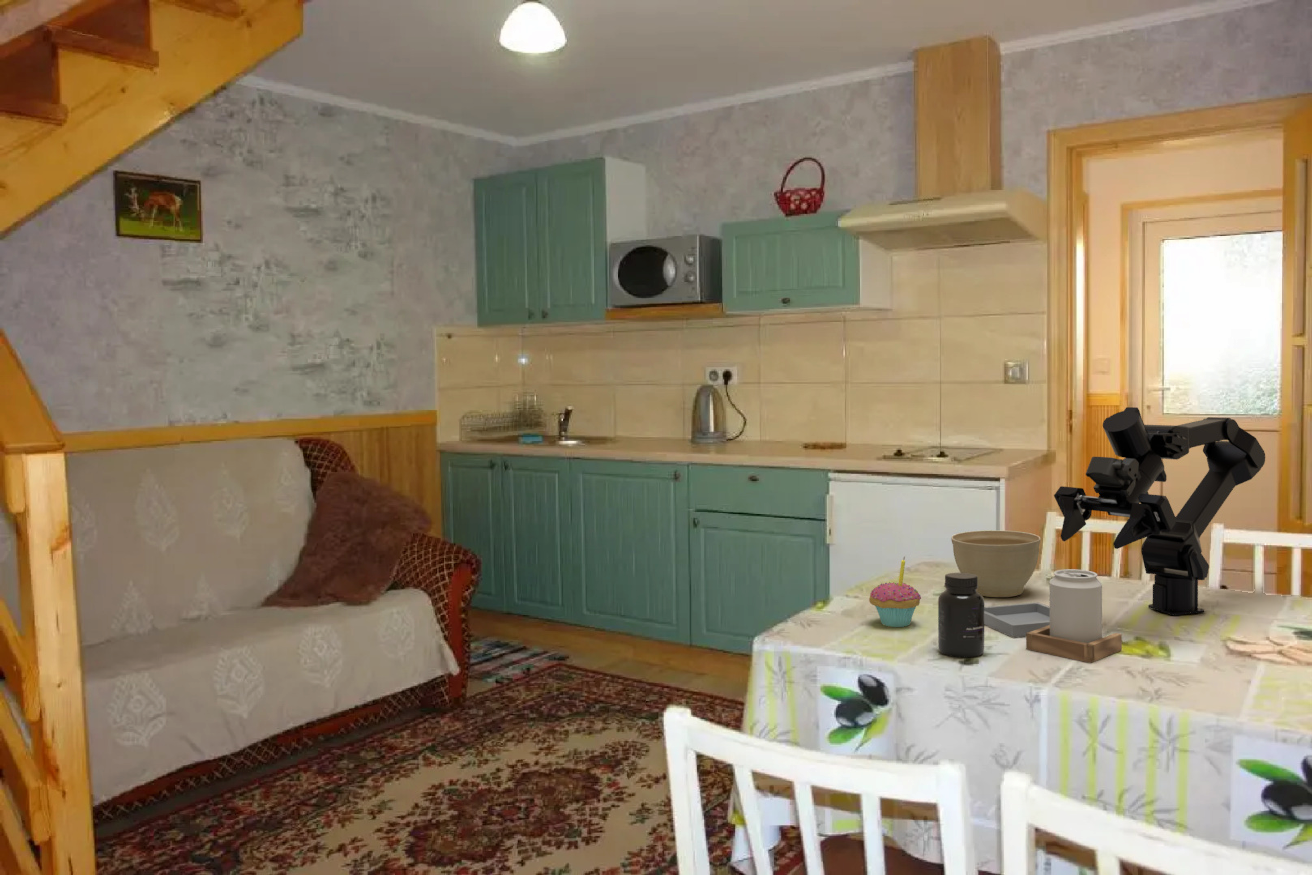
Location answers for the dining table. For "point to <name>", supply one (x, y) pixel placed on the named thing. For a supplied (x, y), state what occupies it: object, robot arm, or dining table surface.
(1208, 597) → the dining table surface
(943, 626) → the supplement bottle
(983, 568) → the planter bowl
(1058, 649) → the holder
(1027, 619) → the tray
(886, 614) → the cupcake
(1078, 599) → the can
